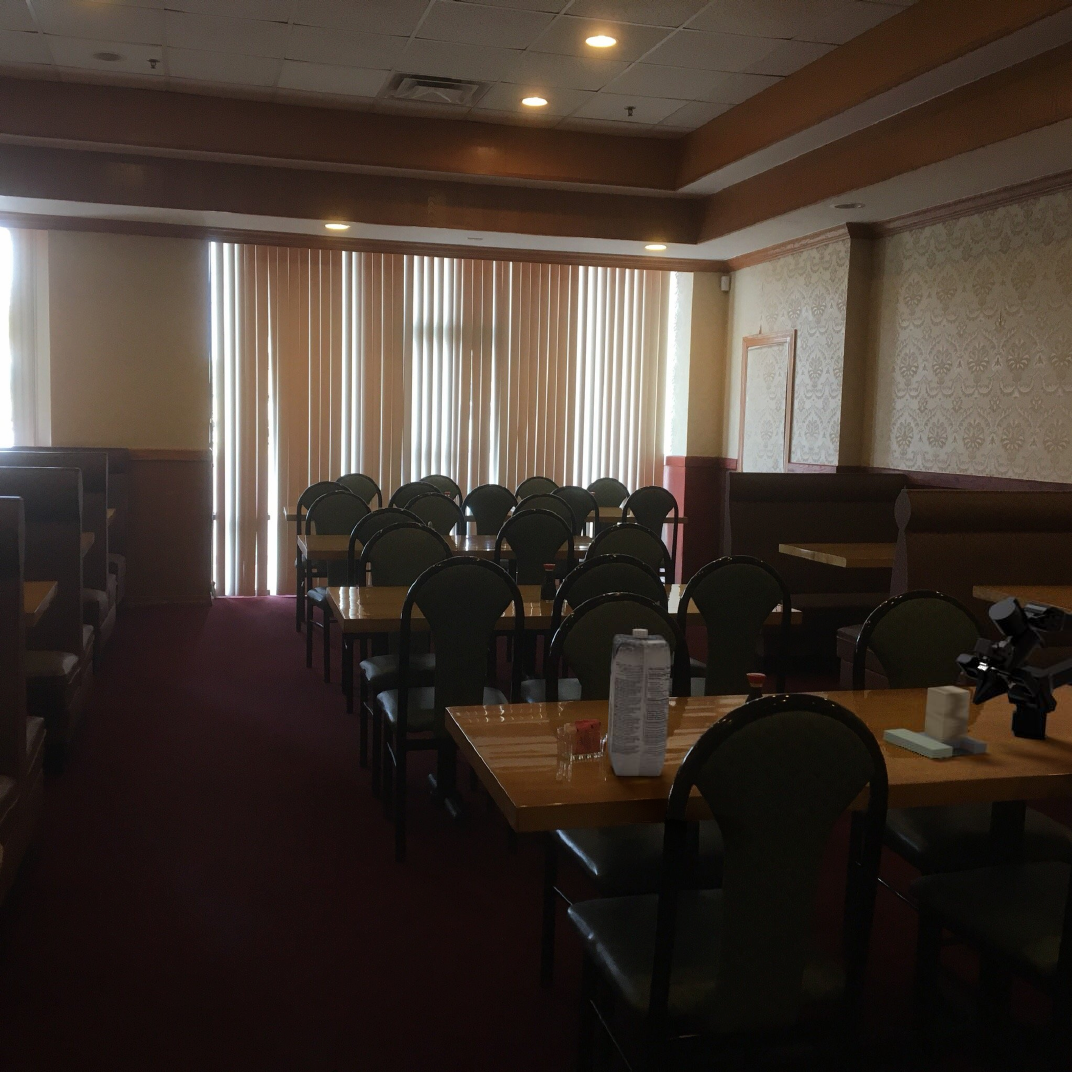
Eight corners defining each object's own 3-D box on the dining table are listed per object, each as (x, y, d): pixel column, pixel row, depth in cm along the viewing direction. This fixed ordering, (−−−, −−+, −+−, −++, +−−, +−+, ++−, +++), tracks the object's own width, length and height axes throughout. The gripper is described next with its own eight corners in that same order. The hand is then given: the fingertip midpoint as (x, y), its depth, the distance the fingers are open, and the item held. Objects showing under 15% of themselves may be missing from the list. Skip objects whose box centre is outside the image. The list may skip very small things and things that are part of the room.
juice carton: (667, 778, 203) (674, 636, 200) (611, 778, 202) (618, 635, 199) (658, 763, 212) (665, 627, 209) (604, 762, 211) (611, 625, 208)
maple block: (948, 730, 236) (952, 685, 235) (966, 737, 231) (970, 691, 230) (924, 733, 233) (927, 688, 232) (941, 740, 229) (945, 693, 227)
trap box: (936, 733, 241) (936, 724, 240) (986, 752, 228) (986, 743, 228) (883, 739, 234) (884, 730, 234) (931, 759, 222) (932, 749, 222)
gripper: (965, 617, 243) (924, 669, 240) (1034, 634, 227) (991, 690, 223) (988, 649, 248) (948, 701, 244) (1058, 668, 231) (1016, 724, 227)
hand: (974, 703), depth 235 cm, fingers closed
